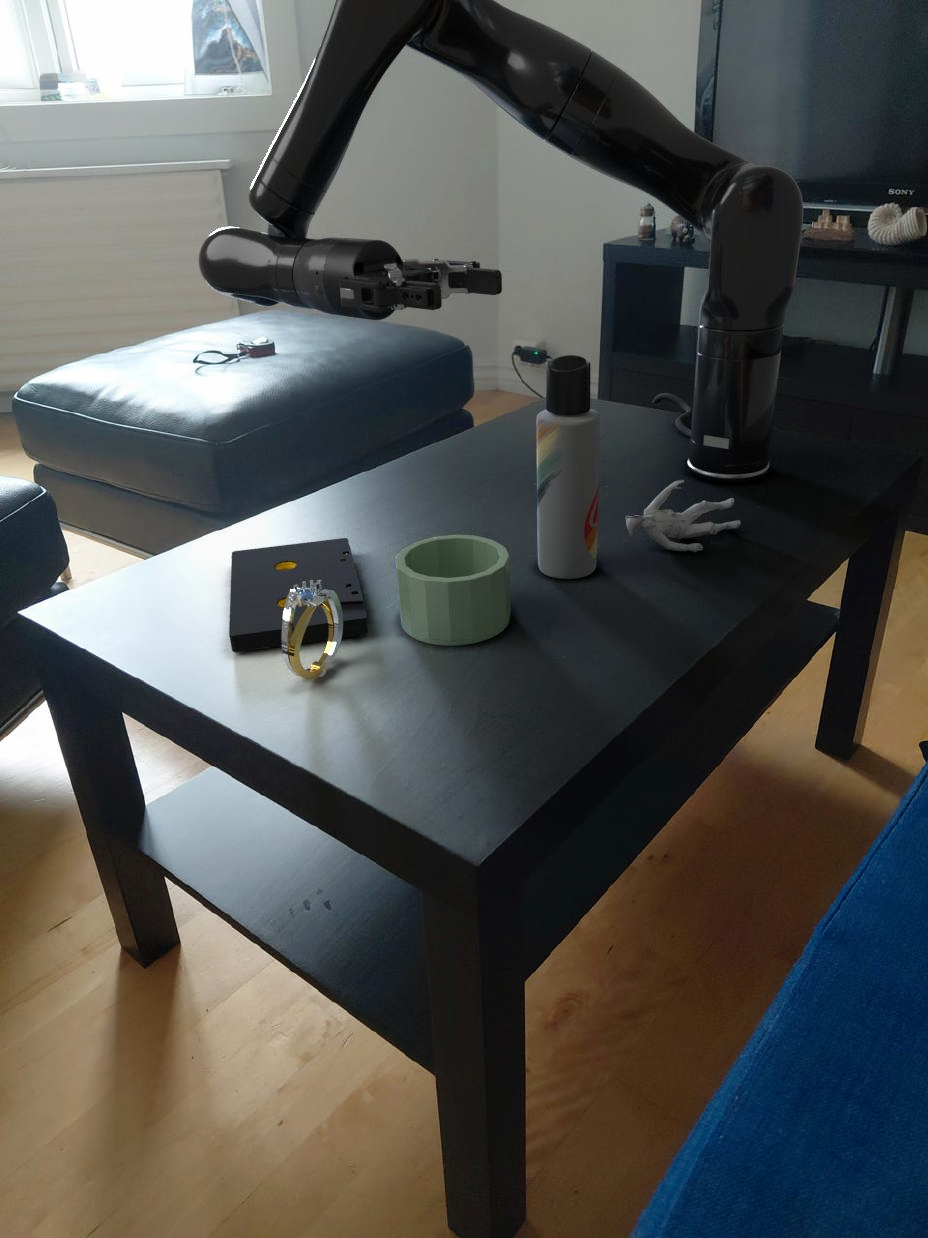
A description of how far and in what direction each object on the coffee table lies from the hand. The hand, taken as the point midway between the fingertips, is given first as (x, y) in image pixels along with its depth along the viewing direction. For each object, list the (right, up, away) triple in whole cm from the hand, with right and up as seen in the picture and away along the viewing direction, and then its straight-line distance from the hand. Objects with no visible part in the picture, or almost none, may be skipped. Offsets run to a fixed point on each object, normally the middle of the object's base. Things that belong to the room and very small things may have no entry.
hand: (470, 289), depth 86 cm
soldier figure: (+22, -22, +10) cm, 33 cm away
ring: (-12, -35, -10) cm, 38 cm away
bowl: (-1, -30, -3) cm, 30 cm away
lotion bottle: (+9, -25, +5) cm, 27 cm away
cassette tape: (-16, -28, +2) cm, 33 cm away
